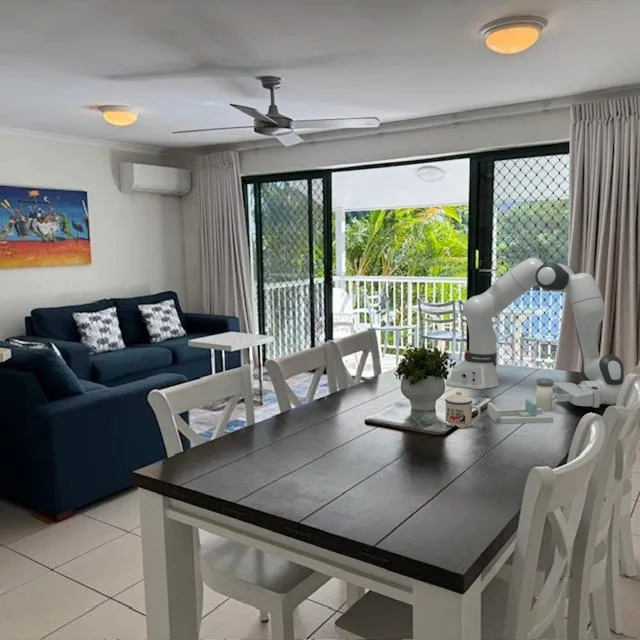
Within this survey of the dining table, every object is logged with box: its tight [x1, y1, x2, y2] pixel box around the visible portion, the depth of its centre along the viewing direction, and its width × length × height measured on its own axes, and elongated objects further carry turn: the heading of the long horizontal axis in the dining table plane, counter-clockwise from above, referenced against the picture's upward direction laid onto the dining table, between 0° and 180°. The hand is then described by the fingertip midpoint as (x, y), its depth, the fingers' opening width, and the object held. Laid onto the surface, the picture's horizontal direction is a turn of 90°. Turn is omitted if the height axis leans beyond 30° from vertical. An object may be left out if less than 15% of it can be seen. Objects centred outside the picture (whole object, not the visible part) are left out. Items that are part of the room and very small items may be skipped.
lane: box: [487, 402, 554, 424], centre depth 212 cm, size 19×11×4 cm, turn 91°
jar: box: [535, 378, 554, 412], centre depth 221 cm, size 6×6×11 cm
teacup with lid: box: [444, 390, 481, 429], centre depth 205 cm, size 12×9×12 cm
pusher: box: [517, 398, 538, 417], centre depth 212 cm, size 4×7×6 cm, turn 1°
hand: (550, 393), depth 221 cm, fingers open, 8 cm apart
